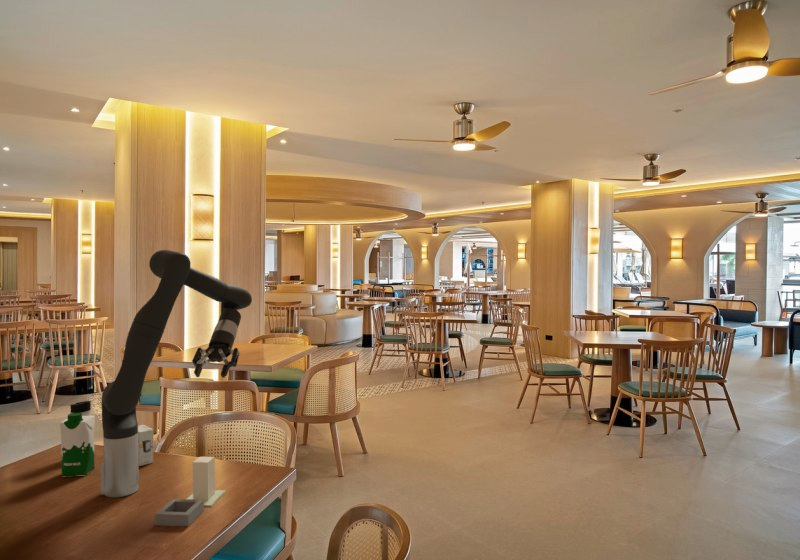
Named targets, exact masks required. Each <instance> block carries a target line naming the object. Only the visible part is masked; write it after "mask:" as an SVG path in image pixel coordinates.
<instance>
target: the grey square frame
mask: <svg viewBox="0 0 800 560" xmlns="http://www.w3.org/2000/svg"><path fill="white" fill-rule="evenodd" d="M204 511H205V506H204V500H192V499H187V498H185V499H184V498H172V499H170V501H169V502H167V503H166V504H165V505H163V506H162V508H160V509H159V510H158V511H157V512H156V513H155V514H154V526H165V527H166V526H167V527H190V525H191V524H193V523H194V521H196V519H197V518H199V516H200V515H201V514H203V512H204Z"/></svg>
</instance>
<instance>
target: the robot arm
mask: <svg viewBox="0 0 800 560" xmlns="http://www.w3.org/2000/svg"><path fill="white" fill-rule="evenodd" d="M148 266H149V269H150V271H151V272H152V274H153V275H154V276H156V277H157V278H159V279H160V280H159V283H158V287H157V289H156V290H155V293H154V294H153V295H152V297H150V299H149V300H148V301H147V302H146V303H144V305H143V306H142V307H141V308H140V309H139V310H138V312H137V313H136V314H135V315H134V317H133V321H132V323H131V325H130V328H129V330H128V333H127V337H126V341H125V345H124V351H123V358H122V363H121V366H120V367H119V370H118V374H117V375H116V377H115V380H114V381H111V382H110V383H108V384H107V385H106V386H105V387H104V389H103V391H102V394H101V424H102V425H101V427H102V433H103V436H102V439H103V441H102V442H103V461H101V462H100V495H101V496H105V497H106V498H121V497H126V496H129V495H132V494H134V493H136V492H137V491H138V490H139V478H140V477H139V466H138V426H139V424H138V418H137V405H138V404H139V402H140V398H141V395H142V390H143V386H144V383H145V379H146V375H147V372H148V370H149V367H150V365H151V363H152V361H153V359H154V357H155V354H156V352H157V349H158V347H159V344H160V342H161V339H162V338H163V334H164V332H165V329H166V327H167V323H168V322H169V318H170V315H171V314H172V311H173V308H174V305H175V303H176V301H177V299H178V297H179V295H180V292H181V290H182V288H183V287H184V286H186V287H188V288H190V289H192V290H194V291H195V292H197V293H200V294H202V295H203V296H205V297H208V298H209V299H211V300H213V301H216V302H219V303H220V316H219V317H218V320H217V323H216V325H215V327H214V329H213V331H212V335H211V336H210V340H209V343H208V346H207V348H206V349H205V348H204V349H202V347H198V348H197V349H196V352H195V354H194V356H193V358H192V360H191V361H192V363H193V365H194V367H195V369H194V371H193V374H194V375H195V377H196V378H200V376H201V373H202V370H203V367H205V366H206V365H209V364H210V363H216V362H217V363H221V362H223V363H224V364H223V365H222V368H221V371H220V376H221V378H222V379H224V378H226V377H227V375H228V373H229V370H230V368H232V367H233V368H235V367H237V365H238V361H239V356H240V351H239V348H237V347H235V348H234V349H232V348H233V347H234V346H233V345H234V343H235V341H236V338H237V334H238V333H237V332H238V328H239V326H240V322H241V319H242V314H241V313H240V311H239V310H242V309H243V310H244V309H246V308H248V307H249V306H250V305H251V304H252V300H253V299H252V294H251V293H250V292H249V291H248V290H247V289H246V288H245V287H242V286H241V287H240V286H238V285H234V284H231V283H230V284H229V283H226V282H224V281H223V280H221V279H219V278H217V277H215V276H213V275H211V274H208V273H205V272H203V271H201V270H200V271H199V270H198V269H195V268H193V267H191V259H190V258H189V256H188V255H187V254H185V253H182V252H179V251H174V250H170V249H169V250H168V249H161V250H158V251H156V252H154V253H153V254H152V255H151V256H150V259H149V265H148ZM230 355H231V359H230V361H229V360H228V357H229V356H230Z"/></svg>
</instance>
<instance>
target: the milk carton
mask: <svg viewBox="0 0 800 560" xmlns="http://www.w3.org/2000/svg"><path fill="white" fill-rule="evenodd" d="M95 418H96V415H91V416H82V413H72V414H71V413H69V414H67V418H65V419H63V420H62V421H60V422H59V428H60V452H61V453H60V455H61V456H60V458H61V461H60V462H61V477H62V476H76V475H86V474H87V473H88V472H89V473H91V472H92V471H93V470H94V469H95V421H96V419H95ZM93 468H94V469H93ZM92 469H93V470H92ZM91 470H92V471H91ZM90 471H91V472H90ZM89 473H88V474H89ZM88 474H87V475H88ZM87 475H86V476H87Z"/></svg>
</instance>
